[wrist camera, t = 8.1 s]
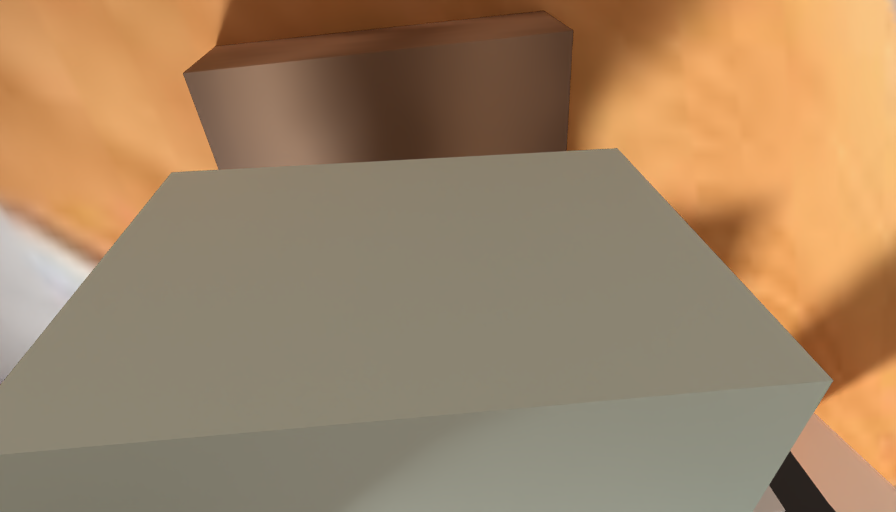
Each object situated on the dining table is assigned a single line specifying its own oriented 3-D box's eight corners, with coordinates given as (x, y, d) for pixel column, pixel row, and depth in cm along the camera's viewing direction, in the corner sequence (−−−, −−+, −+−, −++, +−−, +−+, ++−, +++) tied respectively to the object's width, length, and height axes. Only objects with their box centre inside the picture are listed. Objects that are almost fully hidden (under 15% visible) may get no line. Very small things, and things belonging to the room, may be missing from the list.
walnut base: (299, 295, 26) (287, 353, 22) (218, 43, 19) (183, 73, 15) (535, 266, 26) (556, 318, 23) (541, 9, 19) (573, 30, 16)
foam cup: (735, 357, 31) (918, 595, 20) (847, 378, 33) (1064, 601, 23) (653, 451, 36) (767, 681, 25) (757, 463, 38) (900, 679, 28)
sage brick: (270, 448, 17) (209, 730, 11) (171, 172, 11) (-60, 460, 5) (566, 421, 17) (652, 673, 12) (617, 148, 12) (833, 380, 6)
